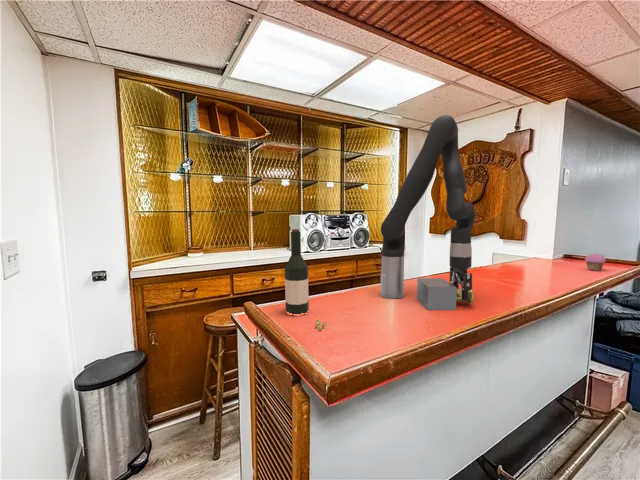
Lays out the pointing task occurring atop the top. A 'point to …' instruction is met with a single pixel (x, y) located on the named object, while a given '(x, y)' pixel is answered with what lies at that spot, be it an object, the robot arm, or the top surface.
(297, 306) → the wine bottle
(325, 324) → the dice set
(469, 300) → the end cap
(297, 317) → the top surface
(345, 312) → the top surface
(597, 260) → the cupcake
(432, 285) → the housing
